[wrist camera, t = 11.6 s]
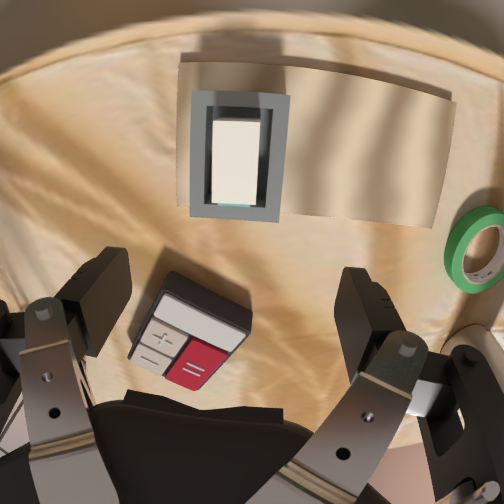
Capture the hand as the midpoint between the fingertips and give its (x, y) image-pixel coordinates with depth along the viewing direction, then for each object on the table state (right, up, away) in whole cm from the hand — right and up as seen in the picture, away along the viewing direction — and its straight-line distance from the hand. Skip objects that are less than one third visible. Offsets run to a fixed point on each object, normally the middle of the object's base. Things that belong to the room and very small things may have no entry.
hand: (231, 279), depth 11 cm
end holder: (0, +10, +16) cm, 19 cm away
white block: (0, +10, +16) cm, 18 cm away
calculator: (-8, -9, +29) cm, 31 cm away
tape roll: (+29, +2, +21) cm, 36 cm away
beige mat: (+7, +11, +17) cm, 21 cm away
